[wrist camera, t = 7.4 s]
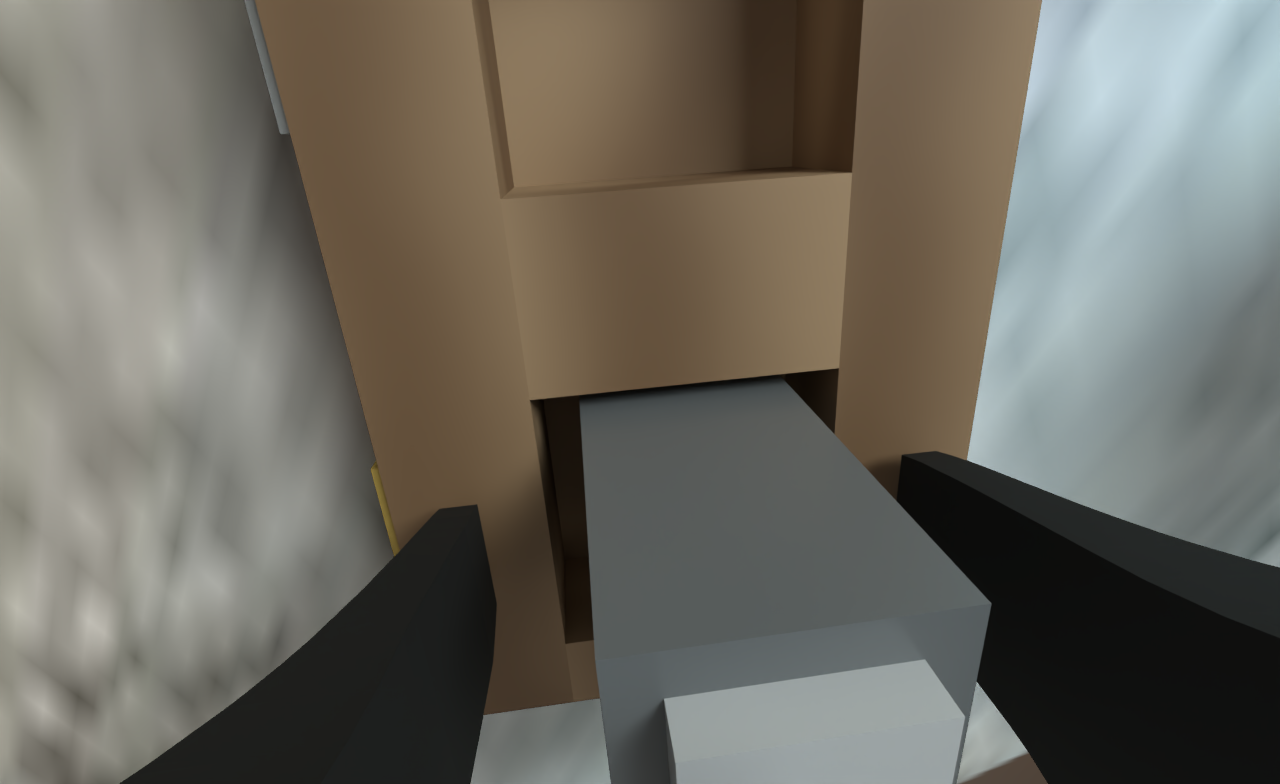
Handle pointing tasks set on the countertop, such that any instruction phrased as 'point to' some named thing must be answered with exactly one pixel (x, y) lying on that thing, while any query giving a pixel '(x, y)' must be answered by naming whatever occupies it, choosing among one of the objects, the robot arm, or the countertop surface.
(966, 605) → the plug
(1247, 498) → the countertop surface
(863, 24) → the divided box
